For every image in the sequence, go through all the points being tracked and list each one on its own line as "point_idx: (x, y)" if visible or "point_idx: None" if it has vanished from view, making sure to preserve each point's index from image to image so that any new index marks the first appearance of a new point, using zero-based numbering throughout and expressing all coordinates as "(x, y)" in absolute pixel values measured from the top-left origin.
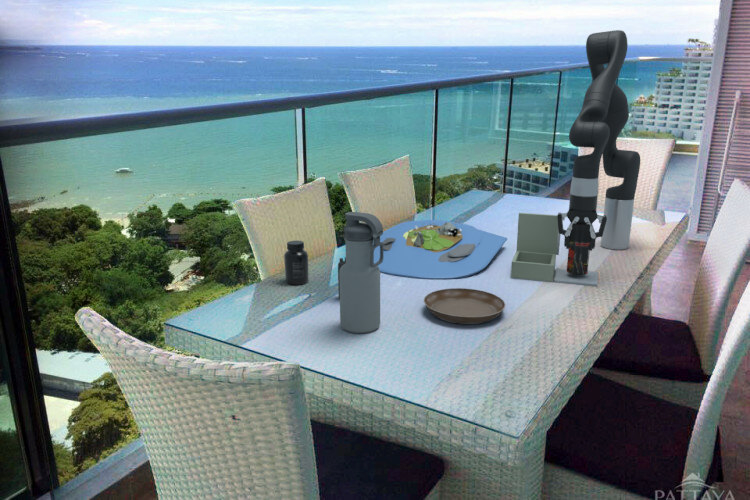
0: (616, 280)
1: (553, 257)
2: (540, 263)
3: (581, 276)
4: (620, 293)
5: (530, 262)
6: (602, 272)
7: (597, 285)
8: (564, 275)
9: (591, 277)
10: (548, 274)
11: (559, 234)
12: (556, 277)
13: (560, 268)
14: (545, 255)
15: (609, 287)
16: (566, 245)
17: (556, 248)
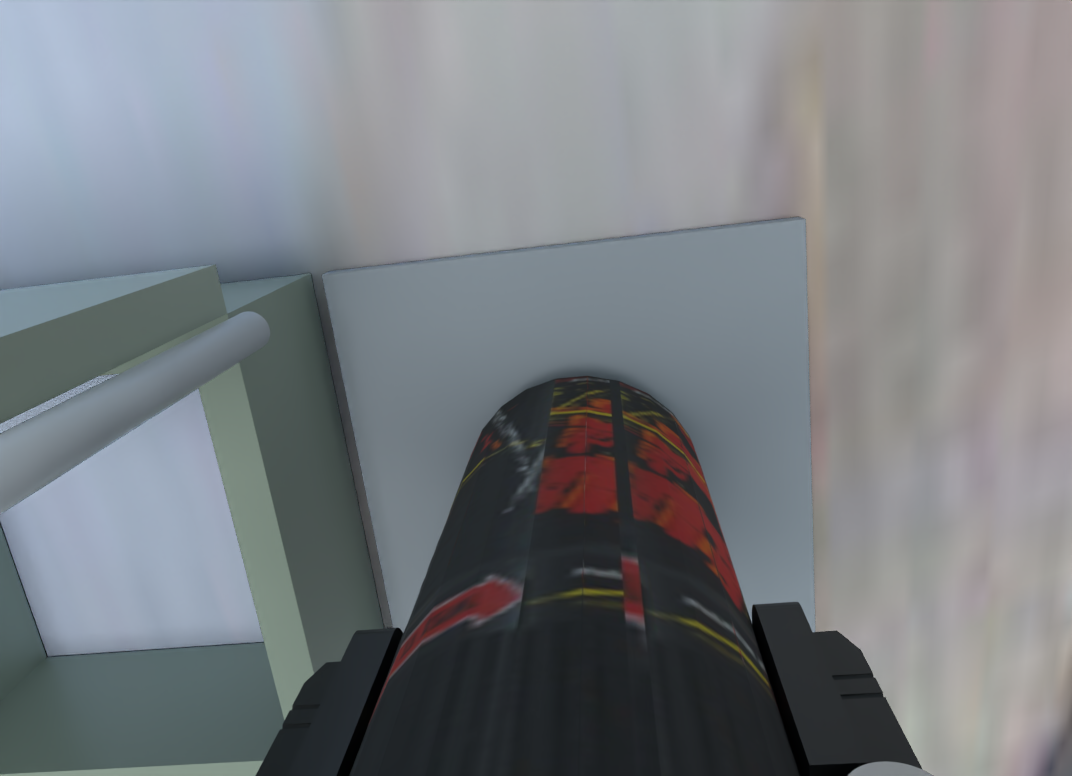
0: (1013, 377)
1: (244, 487)
2: (187, 766)
3: None
4: (1021, 735)
5: (78, 771)
6: (857, 132)
7: None
8: None
9: (743, 464)
10: None
11: (56, 474)
12: (402, 596)
13: (365, 275)
14: (110, 372)
15: (925, 618)
16: None
17: (180, 333)
